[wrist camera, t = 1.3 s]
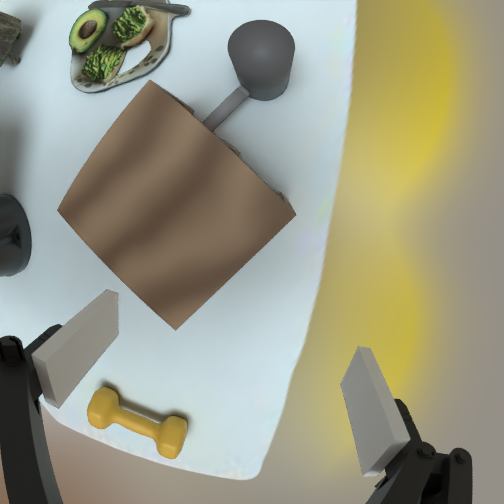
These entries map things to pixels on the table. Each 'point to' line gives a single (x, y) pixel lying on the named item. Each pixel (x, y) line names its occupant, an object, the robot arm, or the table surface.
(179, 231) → the lane shelf
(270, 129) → the table surface
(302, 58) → the table surface
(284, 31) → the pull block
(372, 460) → the robot arm
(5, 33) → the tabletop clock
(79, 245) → the table surface
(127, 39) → the avocado toast plate
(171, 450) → the dumbbell
